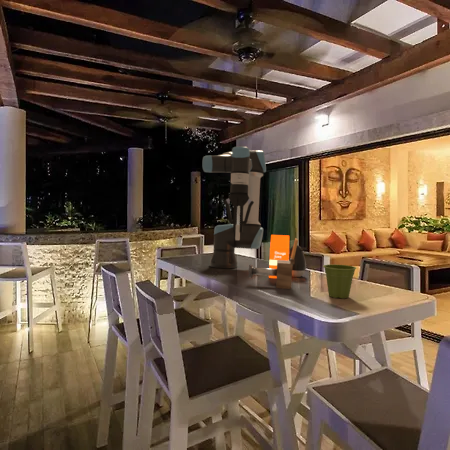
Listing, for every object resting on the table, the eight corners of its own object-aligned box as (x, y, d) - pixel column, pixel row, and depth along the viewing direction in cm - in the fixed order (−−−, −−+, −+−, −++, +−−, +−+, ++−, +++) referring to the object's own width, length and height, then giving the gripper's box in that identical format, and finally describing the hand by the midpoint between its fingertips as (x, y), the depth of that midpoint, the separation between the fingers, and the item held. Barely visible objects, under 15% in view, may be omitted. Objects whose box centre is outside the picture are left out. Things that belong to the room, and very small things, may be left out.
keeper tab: (294, 238, 152) (297, 238, 152) (289, 260, 153) (292, 260, 153) (295, 239, 144) (298, 240, 144) (290, 262, 145) (293, 263, 145)
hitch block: (276, 283, 155) (277, 255, 155) (292, 284, 154) (293, 256, 154) (276, 288, 145) (277, 258, 144) (293, 289, 144) (294, 259, 143)
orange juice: (287, 279, 166) (289, 236, 165) (268, 277, 168) (270, 235, 167) (288, 276, 174) (289, 235, 173) (269, 275, 175) (271, 234, 175)
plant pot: (329, 291, 142) (330, 263, 142) (359, 296, 135) (361, 266, 134) (316, 296, 133) (317, 266, 133) (348, 302, 125) (349, 270, 125)
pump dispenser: (300, 279, 167) (301, 246, 167) (280, 276, 173) (281, 244, 173) (309, 276, 175) (310, 245, 175) (290, 273, 182) (291, 243, 181)
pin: (249, 275, 154) (250, 263, 154) (288, 278, 152) (289, 266, 152) (248, 278, 149) (249, 265, 149) (289, 280, 147) (289, 267, 146)
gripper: (222, 183, 148) (220, 239, 149) (254, 183, 146) (252, 241, 147) (225, 184, 156) (223, 238, 156) (255, 185, 154) (253, 240, 155)
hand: (237, 239), depth 152 cm, fingers closed
